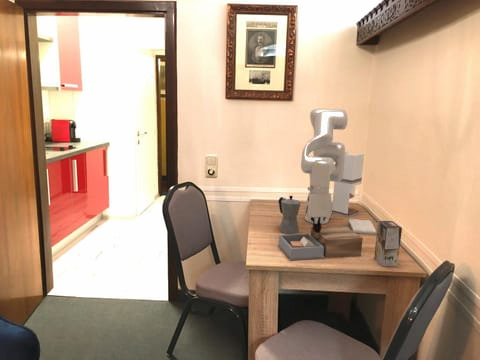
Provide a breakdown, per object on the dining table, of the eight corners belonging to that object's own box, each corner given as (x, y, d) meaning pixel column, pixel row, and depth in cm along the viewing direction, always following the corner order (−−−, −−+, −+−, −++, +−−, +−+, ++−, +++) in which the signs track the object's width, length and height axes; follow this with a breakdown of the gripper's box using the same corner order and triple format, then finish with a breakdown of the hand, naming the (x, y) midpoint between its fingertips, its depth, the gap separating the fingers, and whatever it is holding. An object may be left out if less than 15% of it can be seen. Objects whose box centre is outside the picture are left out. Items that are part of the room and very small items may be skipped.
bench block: (310, 244, 173) (311, 227, 172) (342, 242, 177) (344, 225, 175) (325, 258, 158) (326, 239, 156) (360, 256, 161) (362, 237, 160)
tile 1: (301, 241, 167) (301, 246, 168) (290, 241, 167) (290, 246, 167) (304, 245, 162) (303, 251, 163) (292, 245, 162) (292, 251, 162)
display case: (348, 217, 214) (354, 155, 207) (331, 213, 221) (336, 153, 214) (358, 213, 222) (364, 153, 215) (341, 209, 229) (346, 151, 222)
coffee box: (398, 266, 152) (403, 227, 149) (382, 266, 152) (387, 227, 148) (388, 257, 161) (392, 220, 158) (373, 257, 161) (377, 220, 157)
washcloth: (370, 224, 205) (370, 218, 205) (377, 235, 188) (378, 229, 187) (347, 222, 207) (347, 217, 206) (352, 234, 189) (352, 228, 189)
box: (278, 245, 170) (278, 235, 169) (308, 244, 173) (308, 233, 172) (290, 260, 155) (291, 248, 154) (323, 258, 158) (324, 247, 157)
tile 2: (312, 241, 166) (308, 246, 167) (303, 236, 165) (300, 241, 165) (316, 247, 162) (313, 251, 162) (307, 241, 160) (304, 246, 160)
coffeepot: (305, 233, 187) (307, 197, 183) (290, 236, 182) (292, 199, 178) (284, 224, 199) (286, 190, 196) (270, 227, 194) (272, 192, 190)
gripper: (306, 192, 154) (303, 235, 158) (340, 191, 158) (336, 233, 162) (299, 187, 162) (296, 229, 165) (332, 187, 165) (329, 228, 169)
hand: (316, 231), depth 164 cm, fingers closed
